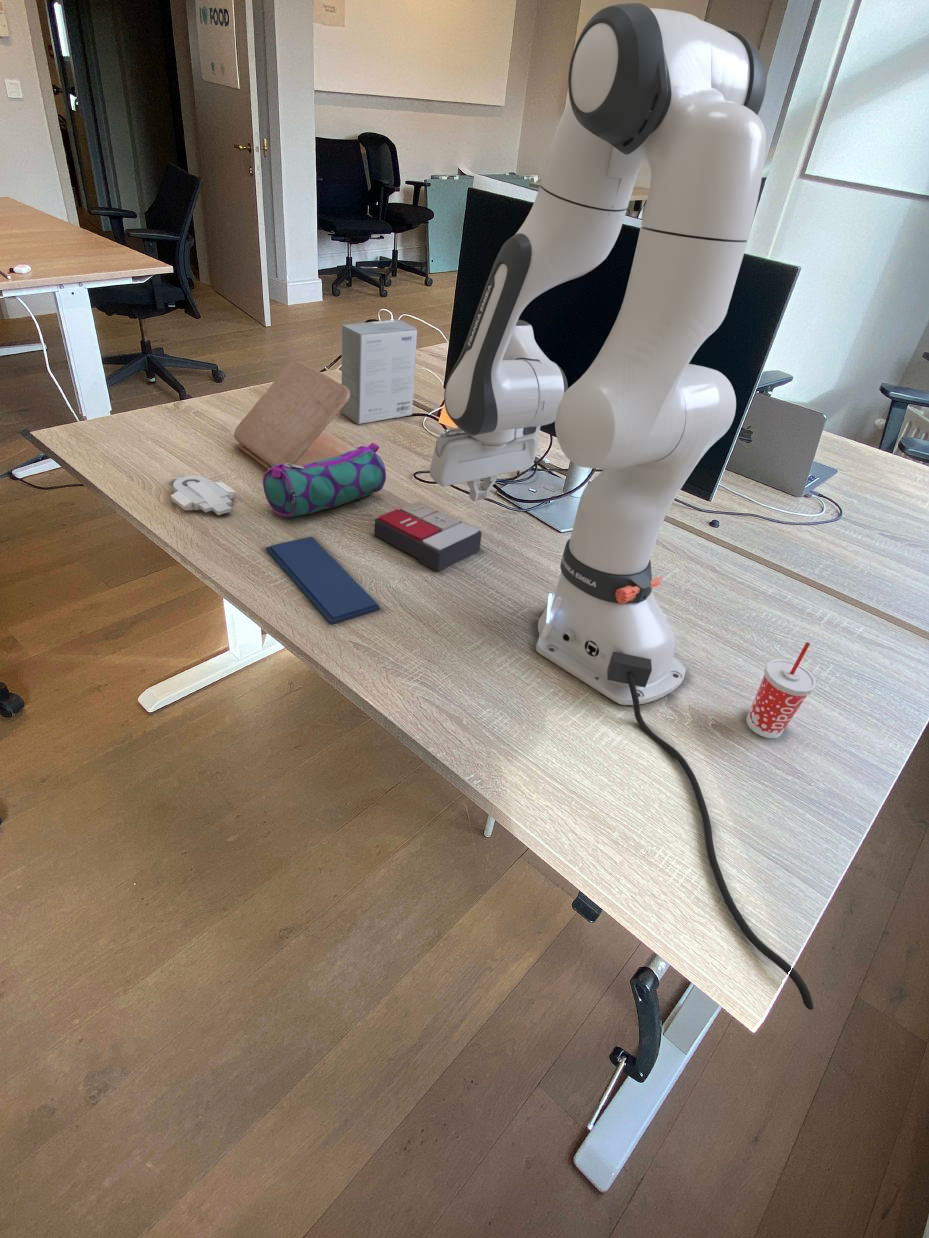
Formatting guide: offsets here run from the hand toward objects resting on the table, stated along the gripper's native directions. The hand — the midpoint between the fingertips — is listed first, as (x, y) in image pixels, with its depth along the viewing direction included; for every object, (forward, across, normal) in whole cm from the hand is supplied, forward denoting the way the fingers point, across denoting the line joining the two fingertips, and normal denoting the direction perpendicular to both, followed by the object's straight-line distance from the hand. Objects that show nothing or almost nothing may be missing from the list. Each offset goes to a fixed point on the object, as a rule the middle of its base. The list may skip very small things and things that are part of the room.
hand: (478, 498), depth 121 cm
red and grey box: (+6, -10, -1) cm, 12 cm away
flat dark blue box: (+6, -32, -3) cm, 32 cm away
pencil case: (+7, -20, +18) cm, 28 cm away
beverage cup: (+5, +4, -59) cm, 59 cm away
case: (+7, -14, +38) cm, 42 cm away
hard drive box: (+7, +12, +53) cm, 55 cm away
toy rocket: (+7, -39, +29) cm, 49 cm away
